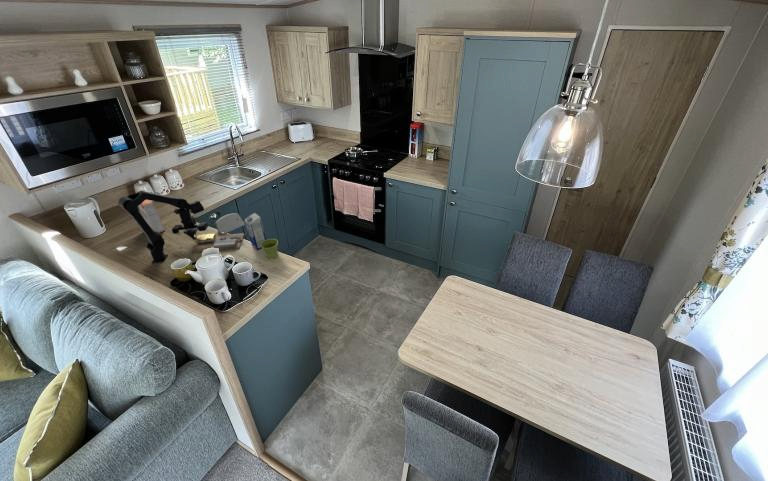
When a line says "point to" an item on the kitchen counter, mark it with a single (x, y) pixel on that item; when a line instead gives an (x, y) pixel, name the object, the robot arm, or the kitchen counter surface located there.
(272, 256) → the plant pot
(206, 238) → the brass leaf
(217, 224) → the grey rounded flat block
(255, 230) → the milk carton
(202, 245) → the hinge bed
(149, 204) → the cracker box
